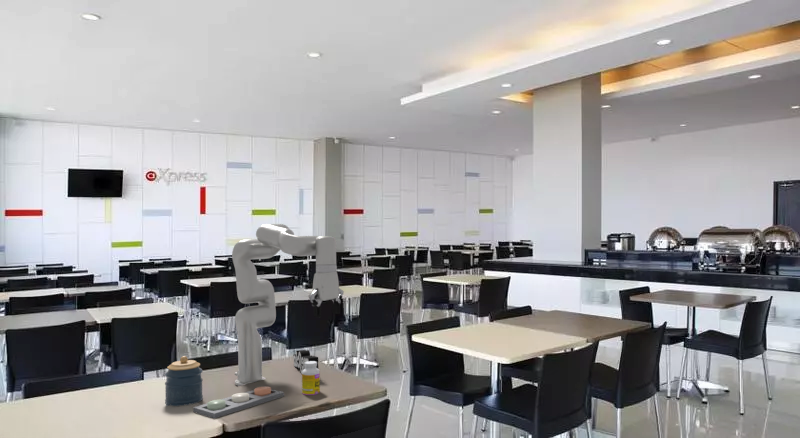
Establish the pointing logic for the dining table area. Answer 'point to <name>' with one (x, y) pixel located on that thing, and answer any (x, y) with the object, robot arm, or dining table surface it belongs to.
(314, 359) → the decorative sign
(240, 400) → the button cream
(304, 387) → the supplement bottle
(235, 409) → the button panel
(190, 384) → the canister
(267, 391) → the button terracotta
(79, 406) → the dining table surface
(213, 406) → the button sage
